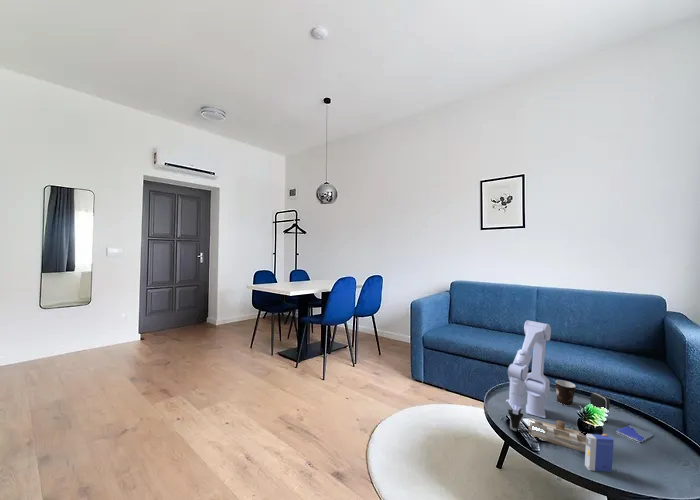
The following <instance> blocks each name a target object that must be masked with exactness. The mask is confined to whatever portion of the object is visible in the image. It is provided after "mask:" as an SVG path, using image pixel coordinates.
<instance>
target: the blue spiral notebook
mask: <svg viewBox="0 0 700 500" xmlns="http://www.w3.org/2000/svg"><path fill="white" fill-rule="evenodd" d="M626 426H627V427H626ZM626 426H624V427H622V428H619V429H616V431H615V433H616V432H618V433H621V434H623V435H625V436H627V437H629V438H631V439H634V440H636V441H639V442H641V441H642V440H643V439H644V437H642V436H640V435H638V433H636V431H635V430H634V429H633V428H630V427H629V426H628V425H626ZM618 433H617V434H618ZM629 438H628V439H629ZM631 439H630V440H631Z"/></svg>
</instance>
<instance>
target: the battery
mask: <svg viewBox="0 0 700 500" xmlns="http://www.w3.org/2000/svg"><path fill="white" fill-rule="evenodd" d="M610 402H611V401H610V399H609V397H607V396H606V395H603V394H600V393H598V392H593V393H591V394H590V401H589V403H590V404H593V405H594V406H596V407H604V408H606V409H607V411H608V410H610V407H611V406H610ZM590 404H589V405H590ZM607 422H608V420H607V421H606V422H605V423H607Z"/></svg>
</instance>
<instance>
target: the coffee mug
mask: <svg viewBox="0 0 700 500" xmlns="http://www.w3.org/2000/svg"><path fill="white" fill-rule="evenodd" d="M575 392H576V384H574V383H573V382H571V381H568V380H563V379H557V380H555V393H556V402H557V401H558V402H560V403H562V404H565V405H572V406H573V401H574V395H575ZM558 402H557V403H558Z"/></svg>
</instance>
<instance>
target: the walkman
mask: <svg viewBox="0 0 700 500" xmlns="http://www.w3.org/2000/svg"><path fill="white" fill-rule="evenodd" d="M614 440H615V439H614V438H612V437H611V436H609V435H608V434H606V433H602V434H597V433H596V434H595V433H587V434H586V451H585V452H584V453H585V454H584V455H585V456H584V466H585V467H586V469H587V470H588V471H594V472H610V473H612V472H613V459H614V458H613V455H614V442H615V441H614Z"/></svg>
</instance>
